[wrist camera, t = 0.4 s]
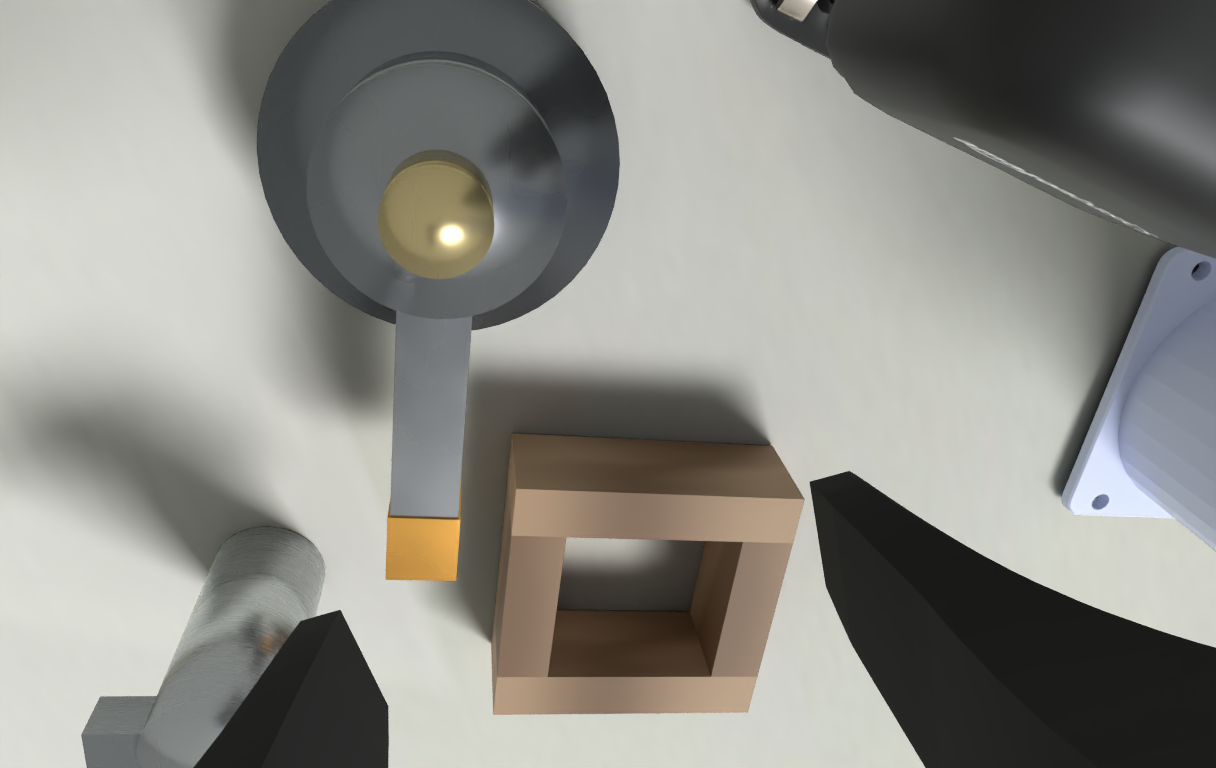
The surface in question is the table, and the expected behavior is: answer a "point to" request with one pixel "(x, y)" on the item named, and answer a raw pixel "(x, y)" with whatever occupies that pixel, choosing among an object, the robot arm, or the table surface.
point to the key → (213, 654)
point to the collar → (430, 308)
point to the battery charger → (1045, 93)
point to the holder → (639, 509)
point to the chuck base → (452, 32)
